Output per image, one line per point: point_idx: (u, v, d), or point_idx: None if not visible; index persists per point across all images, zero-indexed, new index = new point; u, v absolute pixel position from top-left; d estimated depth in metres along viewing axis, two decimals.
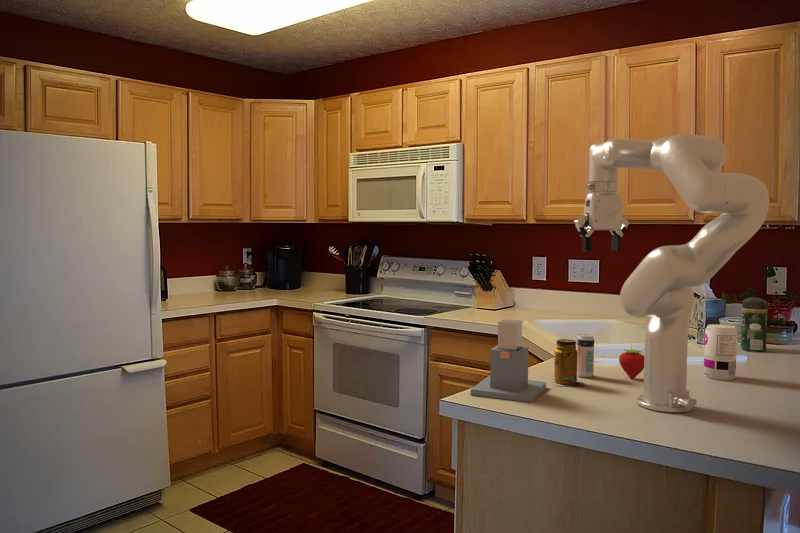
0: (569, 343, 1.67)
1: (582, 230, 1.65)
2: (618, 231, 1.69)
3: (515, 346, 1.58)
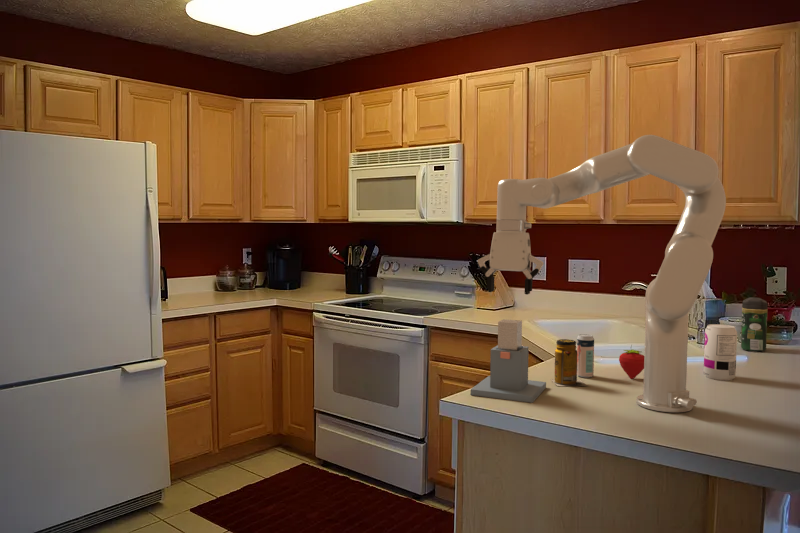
0: (569, 343, 1.67)
1: None
2: None
3: (515, 346, 1.58)
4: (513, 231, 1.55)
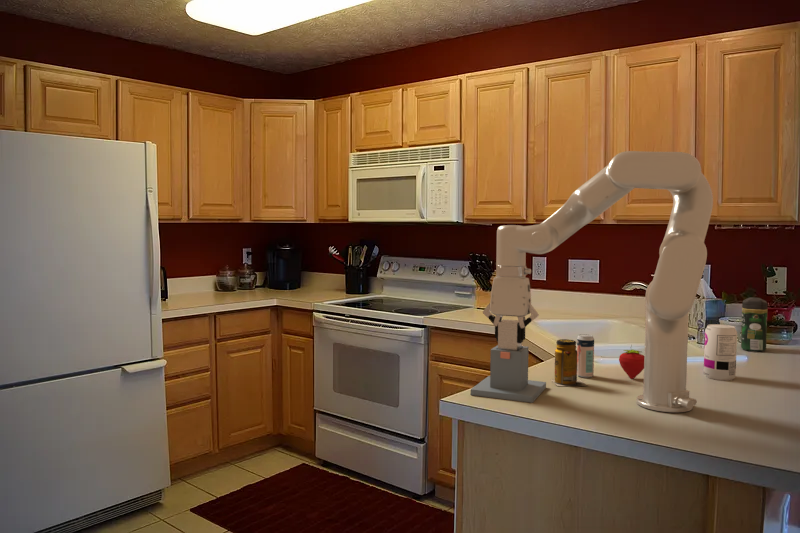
0: (569, 343, 1.67)
1: None
2: None
3: (515, 346, 1.58)
4: (513, 277, 1.56)
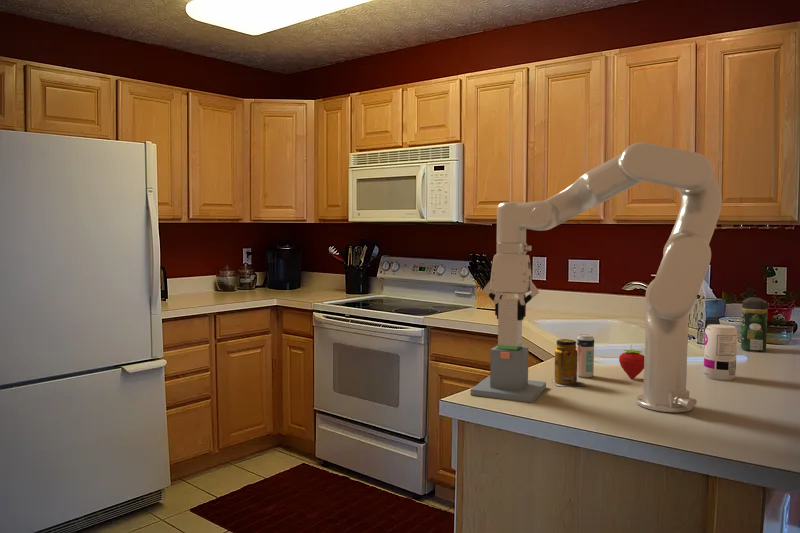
0: (569, 343, 1.67)
1: None
2: None
3: (515, 323, 1.58)
4: (513, 254, 1.56)
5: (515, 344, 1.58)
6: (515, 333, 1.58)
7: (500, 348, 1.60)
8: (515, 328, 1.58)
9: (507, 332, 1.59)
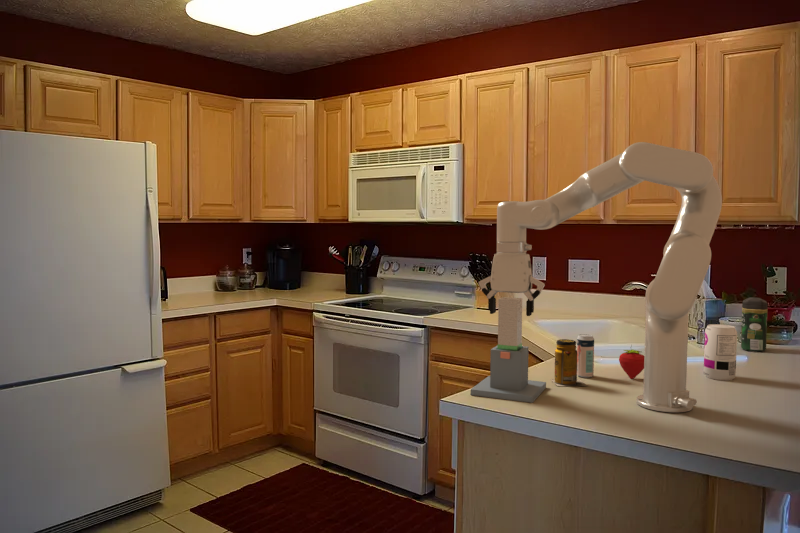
0: (569, 343, 1.67)
1: None
2: None
3: (515, 323, 1.58)
4: (513, 253, 1.56)
5: (515, 344, 1.58)
6: (515, 333, 1.58)
7: (500, 348, 1.60)
8: (515, 328, 1.58)
9: (507, 332, 1.59)
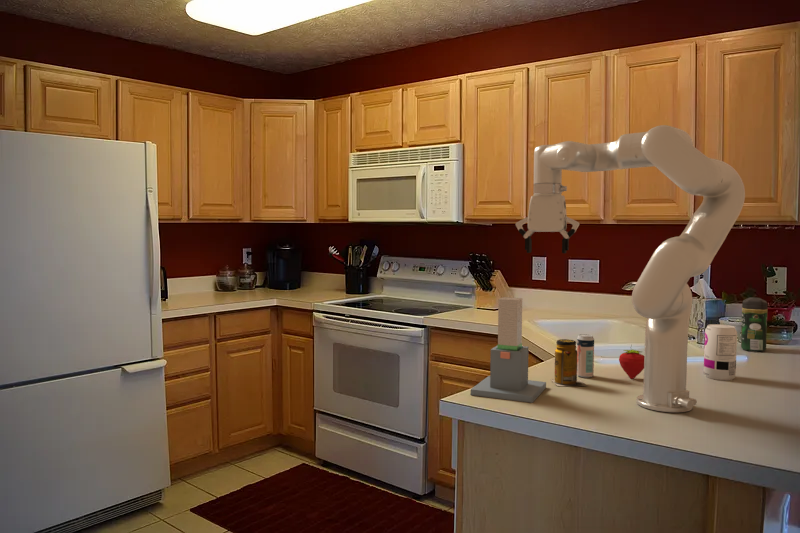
0: (569, 343, 1.67)
1: None
2: None
3: (515, 323, 1.58)
4: (550, 193, 1.65)
5: (515, 344, 1.58)
6: (515, 333, 1.58)
7: (500, 348, 1.60)
8: (515, 328, 1.58)
9: (507, 332, 1.59)
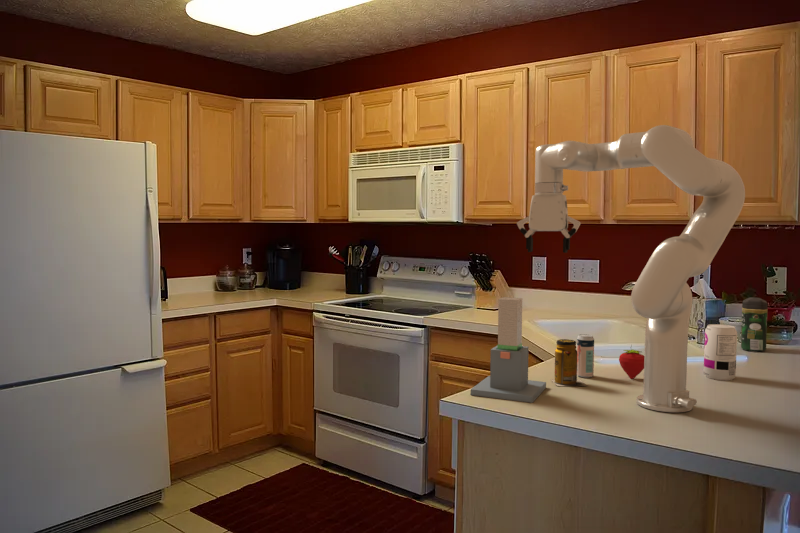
0: (569, 343, 1.67)
1: None
2: None
3: (515, 323, 1.58)
4: (551, 193, 1.66)
5: (515, 344, 1.58)
6: (515, 333, 1.58)
7: (500, 348, 1.60)
8: (515, 328, 1.58)
9: (507, 332, 1.59)
